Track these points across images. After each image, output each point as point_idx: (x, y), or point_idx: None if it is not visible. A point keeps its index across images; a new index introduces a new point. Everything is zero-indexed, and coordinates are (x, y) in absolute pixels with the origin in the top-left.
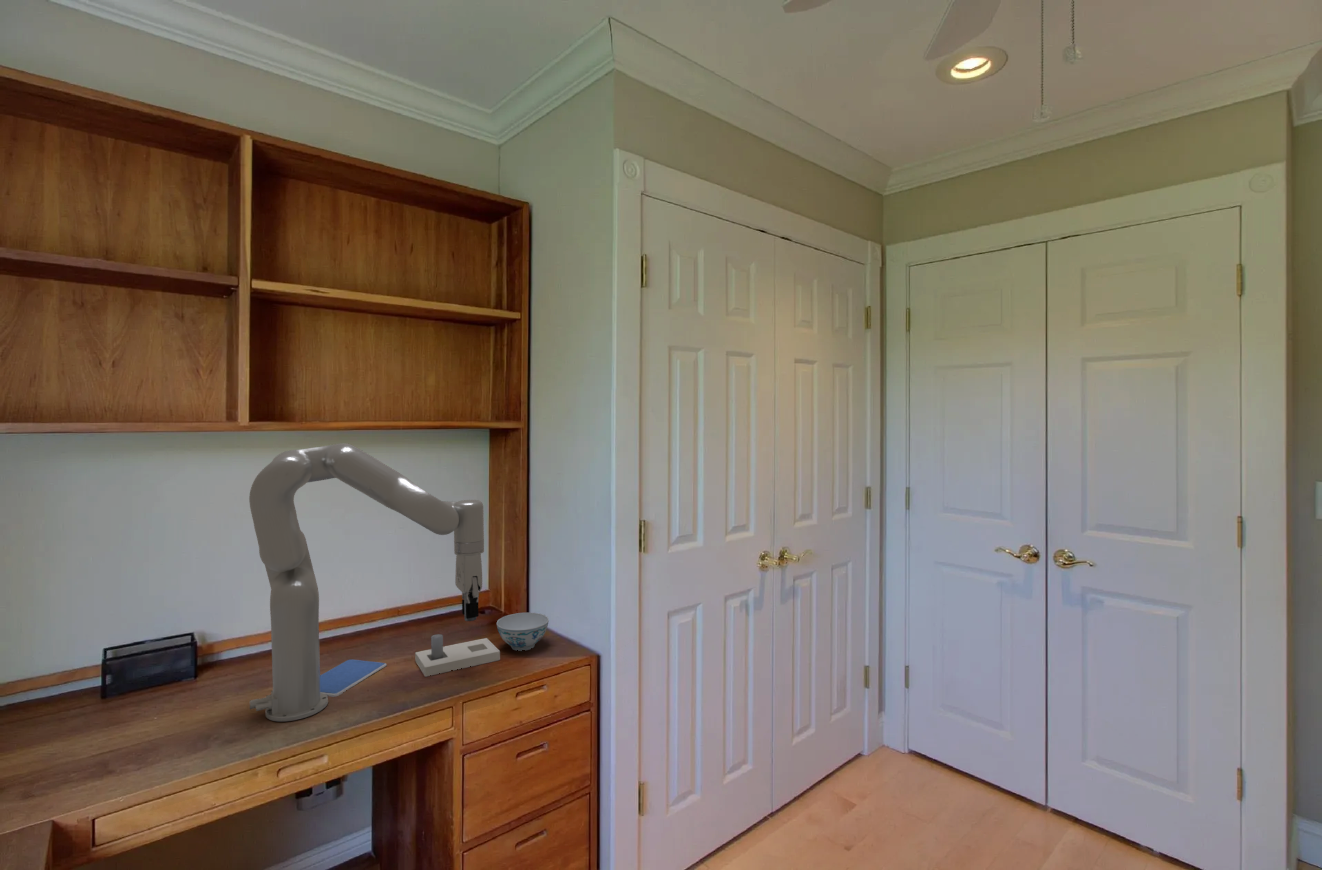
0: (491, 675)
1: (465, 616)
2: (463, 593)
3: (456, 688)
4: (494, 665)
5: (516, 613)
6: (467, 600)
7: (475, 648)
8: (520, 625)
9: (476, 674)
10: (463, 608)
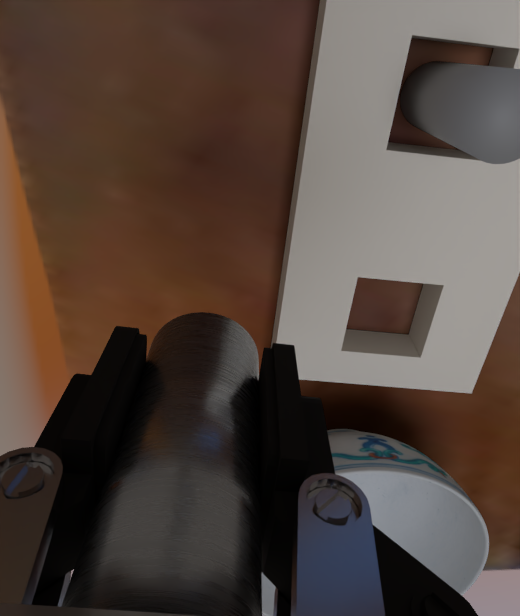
0: (131, 264)
1: (185, 337)
2: (296, 562)
3: (68, 66)
4: (230, 315)
5: (476, 578)
6: (43, 494)
7: (425, 315)
8: (432, 533)
9: (182, 216)
10: (267, 386)
